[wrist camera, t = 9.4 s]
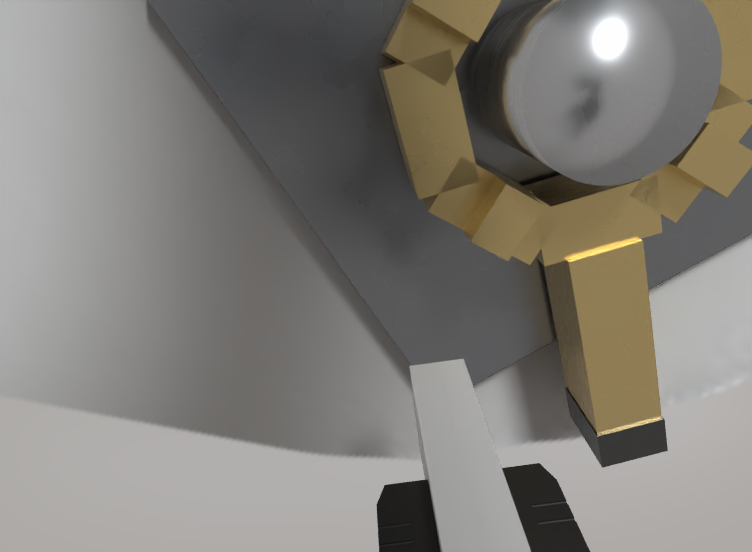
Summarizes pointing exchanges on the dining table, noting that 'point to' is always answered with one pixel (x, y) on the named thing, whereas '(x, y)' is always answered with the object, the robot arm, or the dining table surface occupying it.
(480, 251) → the base plate
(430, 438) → the robot arm
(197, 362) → the dining table surface
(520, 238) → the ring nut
